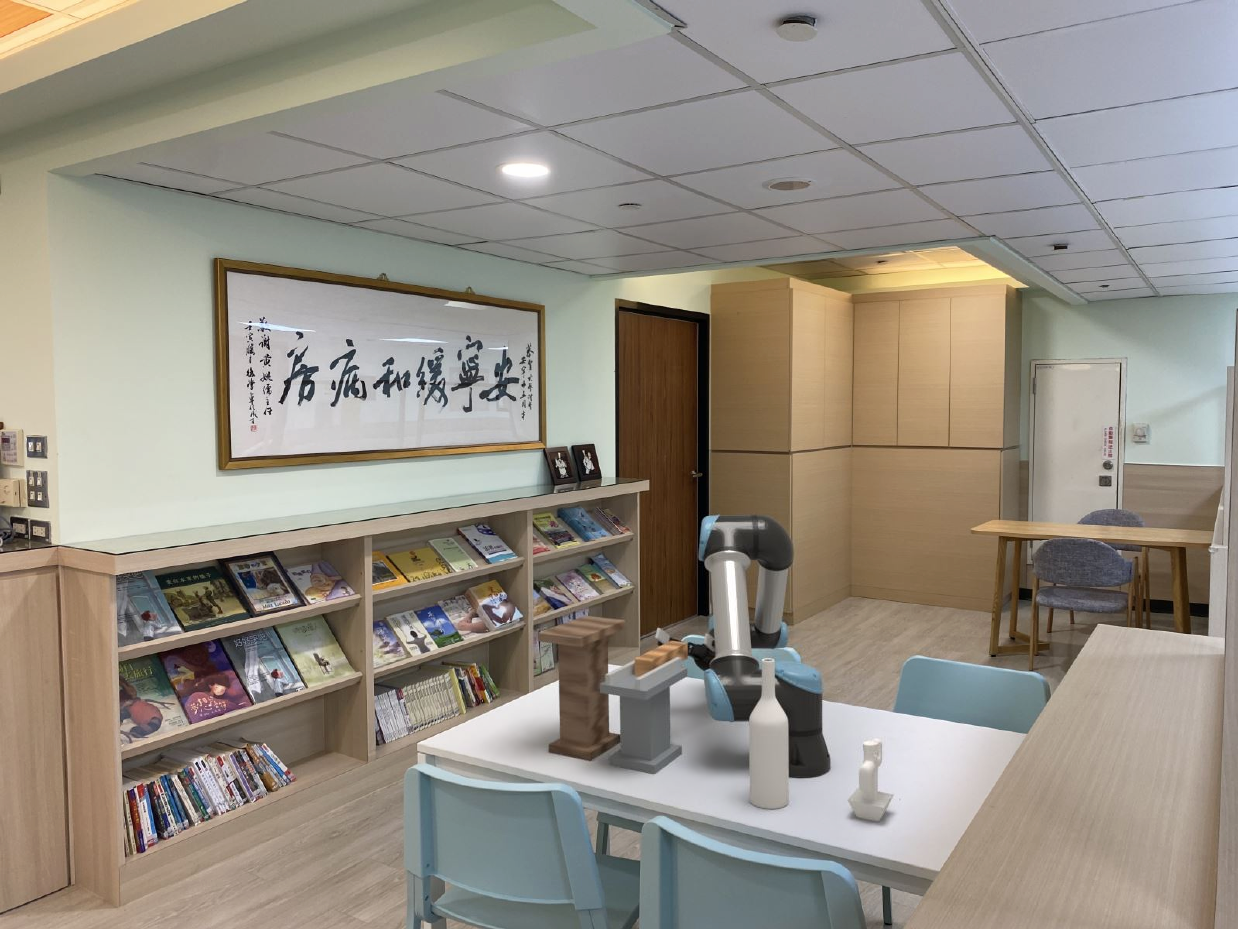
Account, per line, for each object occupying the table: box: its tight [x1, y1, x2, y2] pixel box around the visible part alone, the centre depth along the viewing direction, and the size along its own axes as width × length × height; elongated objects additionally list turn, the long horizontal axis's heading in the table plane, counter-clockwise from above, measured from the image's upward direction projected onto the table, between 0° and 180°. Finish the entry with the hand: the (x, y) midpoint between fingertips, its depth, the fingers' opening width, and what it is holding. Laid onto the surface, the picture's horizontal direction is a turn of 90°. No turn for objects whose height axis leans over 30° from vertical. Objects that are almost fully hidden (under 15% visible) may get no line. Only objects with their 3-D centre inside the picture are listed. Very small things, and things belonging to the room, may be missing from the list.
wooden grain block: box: [634, 641, 689, 676], centre depth 221 cm, size 19×5×4 cm, turn 150°
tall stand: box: [537, 615, 627, 762], centre depth 222 cm, size 21×12×30 cm, turn 150°
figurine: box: [847, 737, 894, 823], centre depth 182 cm, size 7×9×15 cm
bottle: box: [748, 657, 790, 810], centre depth 189 cm, size 8×8×30 cm
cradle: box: [600, 657, 688, 775], centre depth 214 cm, size 21×12×22 cm, turn 150°
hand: (681, 635), depth 230 cm, fingers open, 13 cm apart
